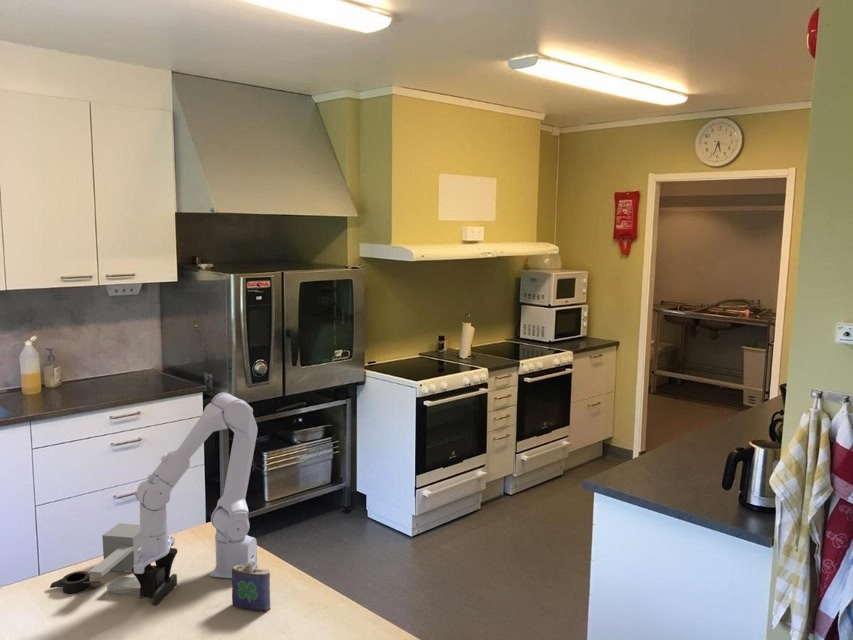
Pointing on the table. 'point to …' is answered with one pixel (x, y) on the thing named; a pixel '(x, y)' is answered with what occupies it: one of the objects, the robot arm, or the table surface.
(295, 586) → the table surface
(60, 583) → the black ring with tabs
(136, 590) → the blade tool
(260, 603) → the flask
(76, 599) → the table surface
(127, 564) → the grey cube mallet
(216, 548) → the robot arm
